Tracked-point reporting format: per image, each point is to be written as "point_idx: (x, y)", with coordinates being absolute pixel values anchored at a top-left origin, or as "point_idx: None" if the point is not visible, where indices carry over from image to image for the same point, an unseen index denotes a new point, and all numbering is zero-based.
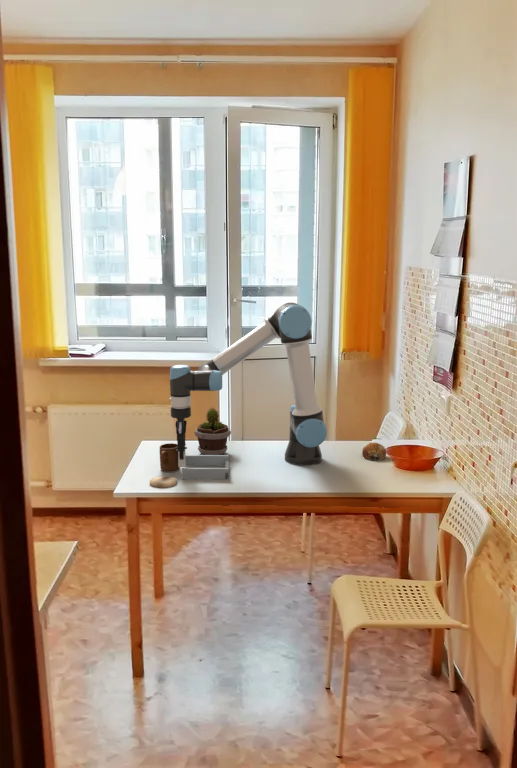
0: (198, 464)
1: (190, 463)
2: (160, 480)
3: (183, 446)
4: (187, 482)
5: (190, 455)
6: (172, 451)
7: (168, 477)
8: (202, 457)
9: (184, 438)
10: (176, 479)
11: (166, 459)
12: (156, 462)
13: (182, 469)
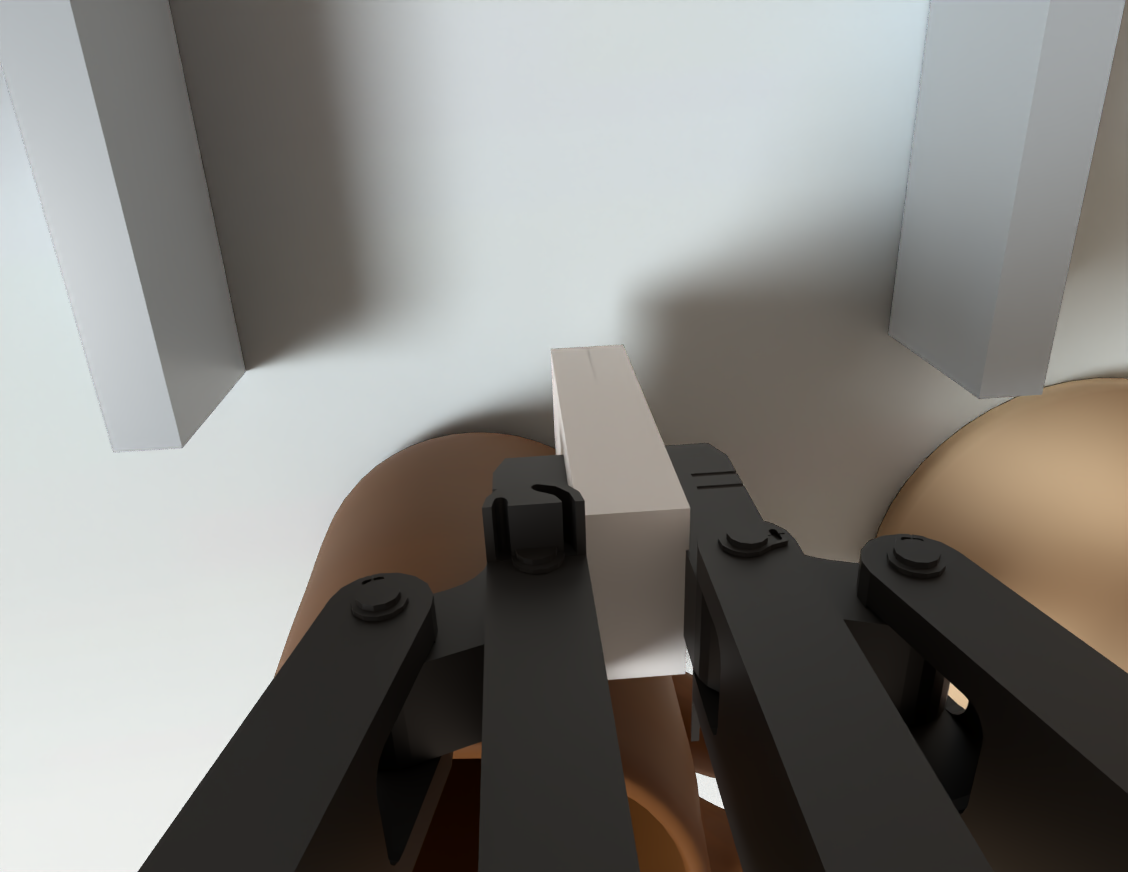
0: (182, 111)
1: (209, 280)
2: (1044, 610)
3: (1067, 647)
4: (1102, 223)
5: (117, 327)
6: (689, 769)
7: (941, 532)
8: (91, 9)
9: (627, 821)
10: (1049, 410)
11: (701, 736)
12: (177, 771)
13: (1039, 378)
